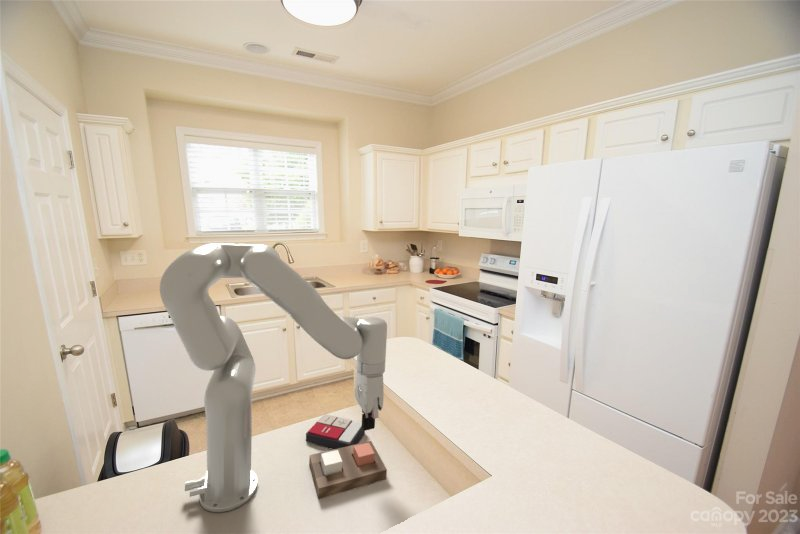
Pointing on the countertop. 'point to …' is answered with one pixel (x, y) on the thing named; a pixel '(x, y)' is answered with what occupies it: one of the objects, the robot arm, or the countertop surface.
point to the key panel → (346, 472)
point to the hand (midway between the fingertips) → (368, 427)
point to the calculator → (335, 432)
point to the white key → (331, 463)
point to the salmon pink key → (363, 454)
